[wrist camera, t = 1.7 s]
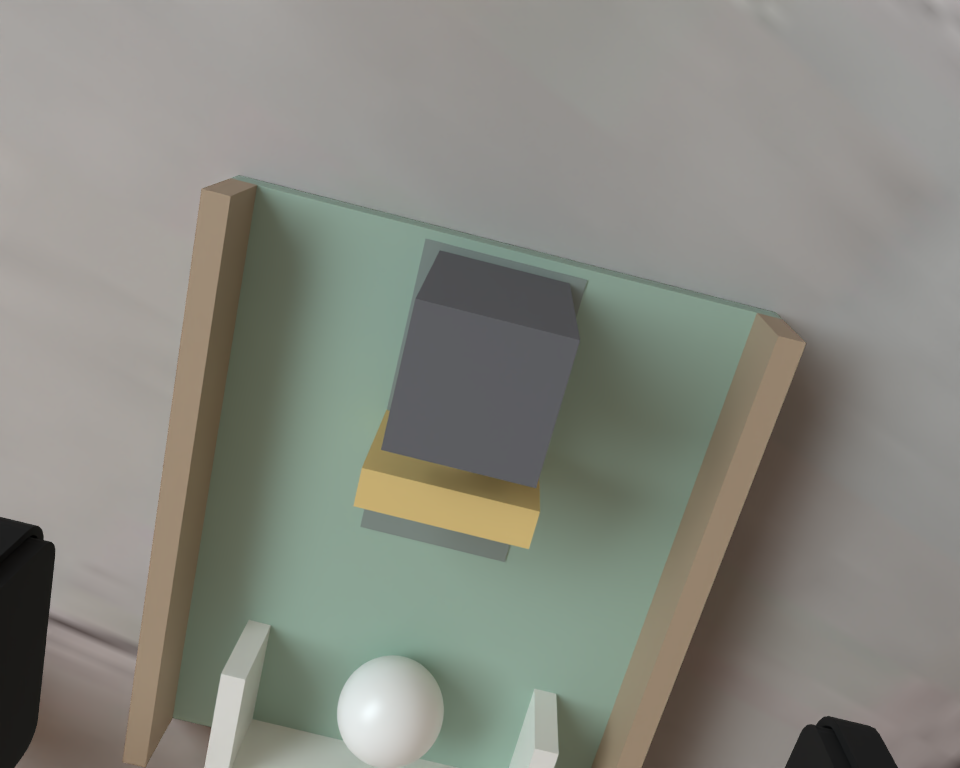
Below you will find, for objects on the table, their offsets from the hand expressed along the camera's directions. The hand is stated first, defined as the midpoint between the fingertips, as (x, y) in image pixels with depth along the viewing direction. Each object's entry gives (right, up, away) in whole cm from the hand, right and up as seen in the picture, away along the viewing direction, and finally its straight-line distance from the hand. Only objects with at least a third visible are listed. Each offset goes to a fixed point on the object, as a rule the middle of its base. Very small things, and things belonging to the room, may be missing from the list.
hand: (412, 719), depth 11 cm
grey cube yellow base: (+1, +5, +17) cm, 18 cm away
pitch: (-1, -1, +20) cm, 20 cm away
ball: (-2, -7, +18) cm, 19 cm away
